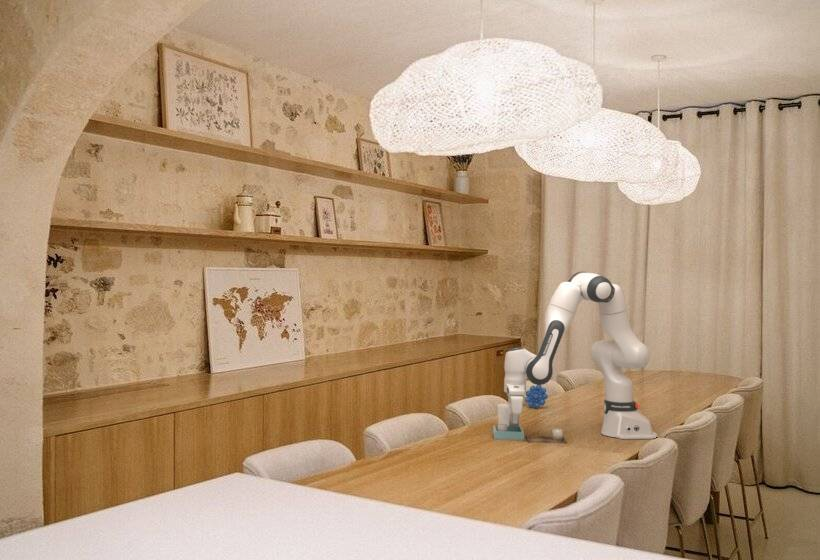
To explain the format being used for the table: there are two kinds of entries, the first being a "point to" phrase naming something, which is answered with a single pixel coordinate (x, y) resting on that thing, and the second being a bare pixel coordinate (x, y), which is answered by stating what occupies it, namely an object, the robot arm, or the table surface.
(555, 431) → the pebble
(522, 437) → the teal square bin
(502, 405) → the white cup
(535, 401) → the grapes
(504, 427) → the pebble
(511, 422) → the pebble
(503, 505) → the table surface
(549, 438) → the tray
